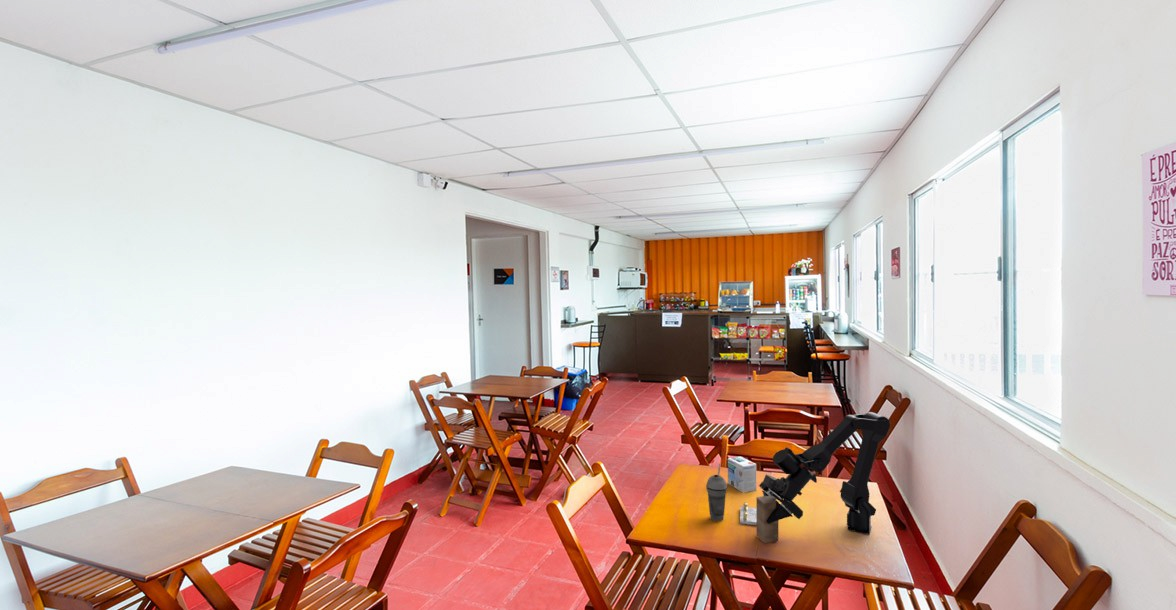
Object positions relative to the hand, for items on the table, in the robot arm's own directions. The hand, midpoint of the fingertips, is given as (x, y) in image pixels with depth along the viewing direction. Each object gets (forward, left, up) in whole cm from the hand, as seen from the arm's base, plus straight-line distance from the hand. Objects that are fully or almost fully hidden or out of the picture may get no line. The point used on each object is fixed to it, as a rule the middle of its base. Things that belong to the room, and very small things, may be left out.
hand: (763, 518), depth 173 cm
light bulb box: (+20, -39, -7) cm, 44 cm away
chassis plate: (+6, -14, -7) cm, 17 cm away
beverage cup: (+18, -6, -7) cm, 20 cm away
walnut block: (-1, -1, -7) cm, 7 cm away
